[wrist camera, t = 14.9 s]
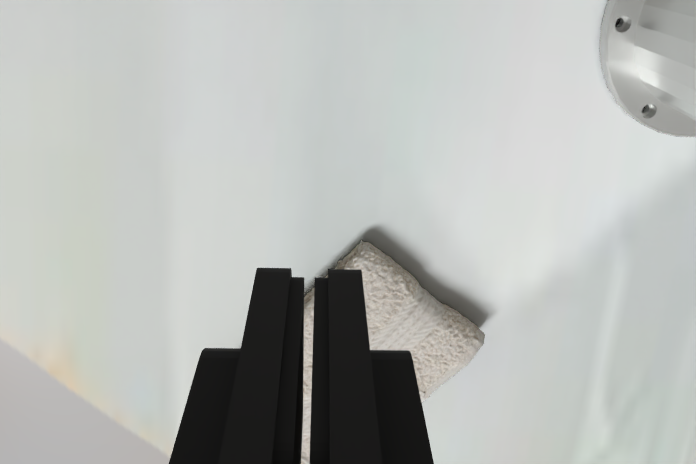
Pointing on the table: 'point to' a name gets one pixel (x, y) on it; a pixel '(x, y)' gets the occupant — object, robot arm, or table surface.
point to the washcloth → (398, 327)
